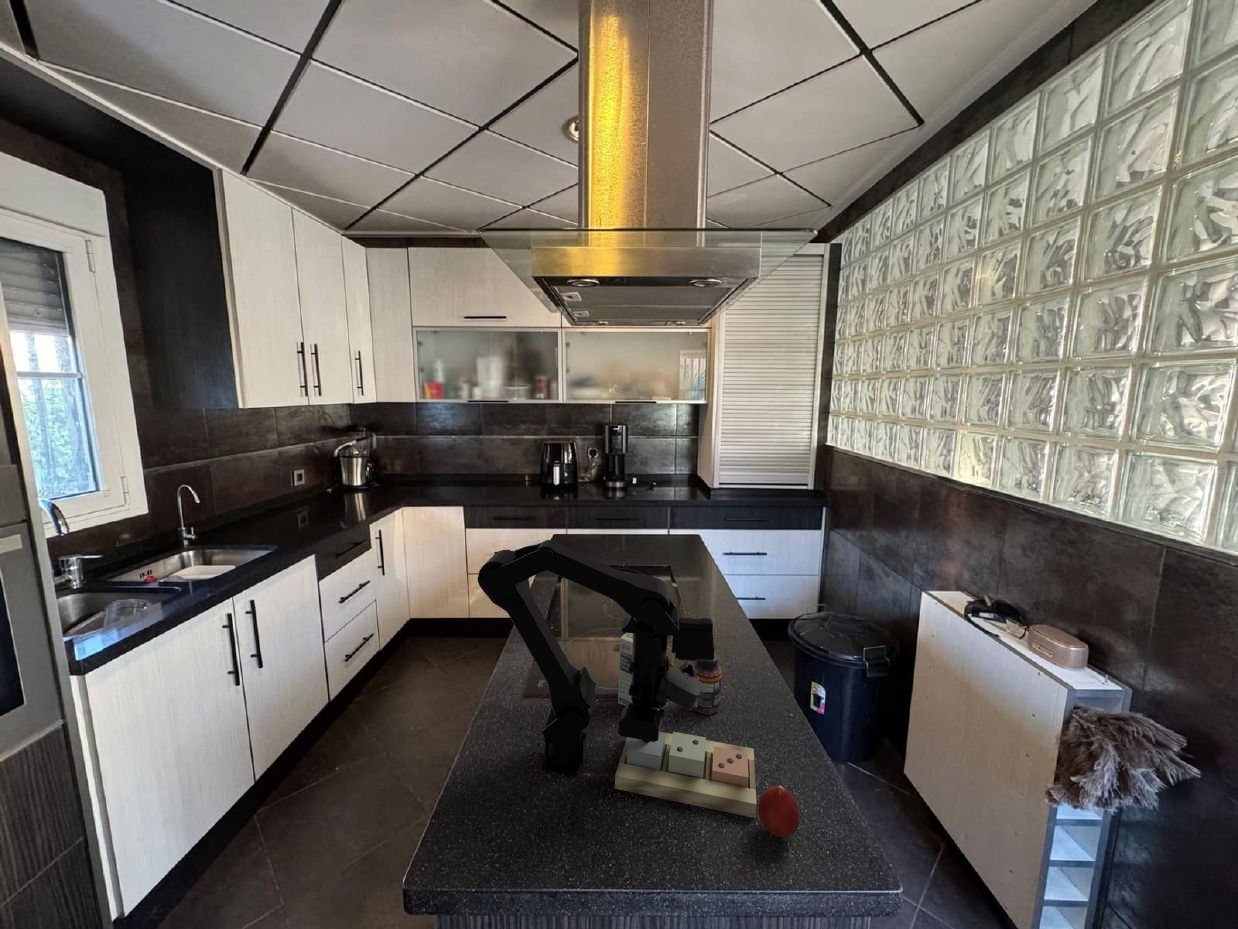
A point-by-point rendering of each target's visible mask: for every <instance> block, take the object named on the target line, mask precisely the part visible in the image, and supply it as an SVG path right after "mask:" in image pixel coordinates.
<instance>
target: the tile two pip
mask: <svg viewBox="0 0 1238 929" xmlns="http://www.w3.org/2000/svg"><path fill="white" fill-rule="evenodd" d="M672 734H673V736H672V742H671V747H670V753H669V770H668V771H670V772H675V773H680V774H685V775H690V776H696V777H701V778H703V772H704V760H705V745H706V740H707V737H704V736H700V735H699V736H698V735H694V734H687V733H682V732H677V731H672Z"/></svg>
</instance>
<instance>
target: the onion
mask: <svg viewBox="0 0 1238 929" xmlns="http://www.w3.org/2000/svg"><path fill="white" fill-rule="evenodd" d="M757 807H758V809H757V810H758V811H757V813H758V817H759V820H760V822H761V825H762V826H763V828H765V829H766V831H768V833H770V834H771V835H773V836H775V837H778V838H779V837H780V838H787V837H789V836H792V835H793V834H795V833H796V832H797V830H798V829H799V826H800V822H801V809H800V807H799V804H798V802H797V800H796V798H795V796H793V794H792V793H791V792H790V791H789V790H787V789H786V788H784V787H783V786H782V785H777V786H771V787H769V788H767V789H766V790H764V791H763V793H762V794H761V796H760V799H759V801H758V805H757Z"/></svg>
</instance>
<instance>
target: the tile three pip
mask: <svg viewBox="0 0 1238 929" xmlns="http://www.w3.org/2000/svg"><path fill="white" fill-rule="evenodd" d="M712 781H714V782H719V783H724V784H729V785H734V786H739V787H744V788H748V752H743V751H738V750H732V749H727V748H721V747H716V746H714V751H713V768H712Z"/></svg>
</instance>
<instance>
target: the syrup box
mask: <svg viewBox="0 0 1238 929" xmlns="http://www.w3.org/2000/svg"><path fill="white" fill-rule="evenodd" d="M632 651H633V633H624V634H623V635H622V636H621V637H620V638H619V658H618V659H619V661H618V662H619V664H618V665H619V666H618V695H617V703H618V704H619V705H622V706H624V707H626V706H627V705H629V703H631V704H633V703H632V699H631V697H632V696H630V695H629V688H630V685H631V682H632V673H631V672H629V669H630V664H631V662H632Z"/></svg>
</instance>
